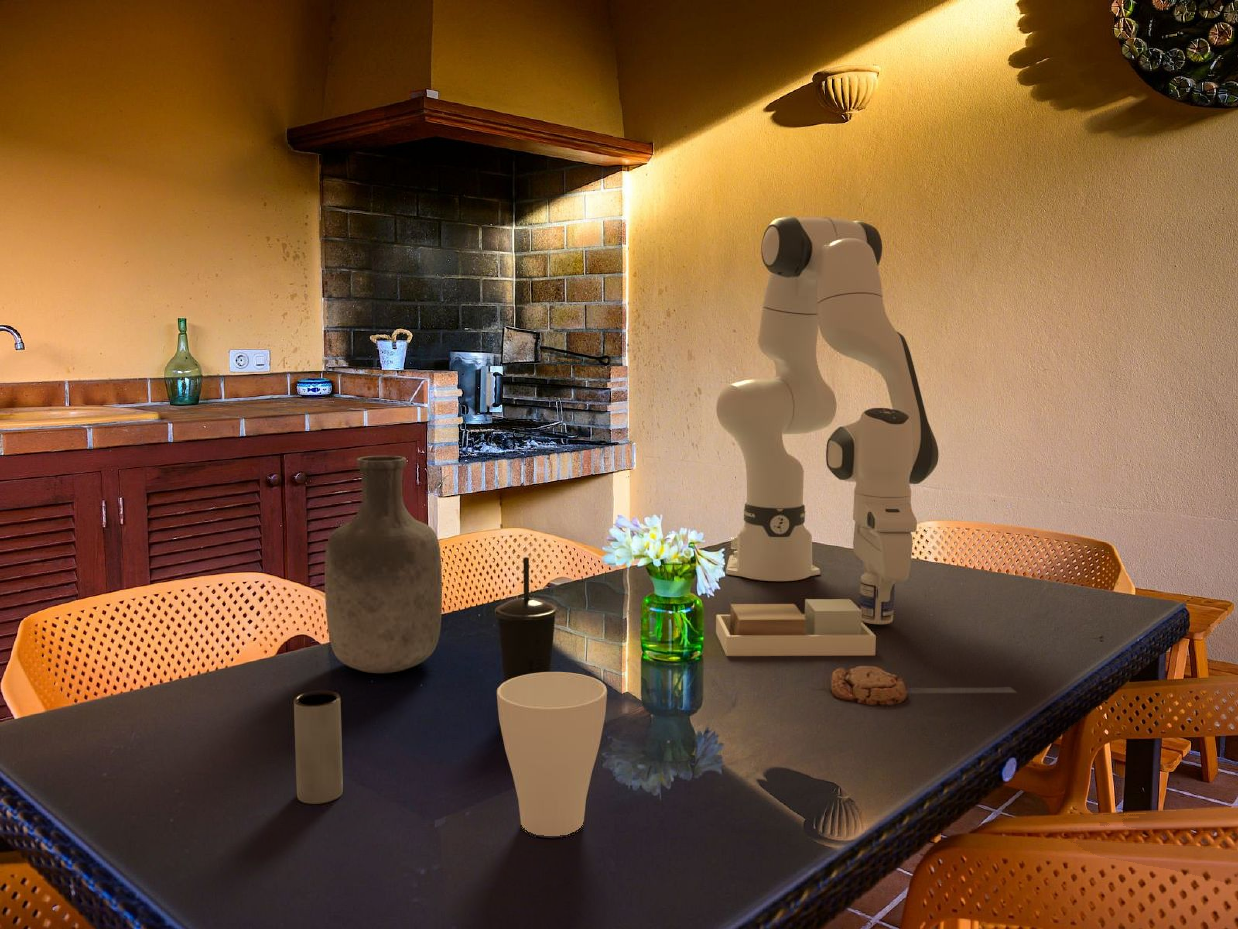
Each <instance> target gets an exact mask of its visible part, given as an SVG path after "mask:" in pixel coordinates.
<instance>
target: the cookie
mask: <svg viewBox="0 0 1238 929" xmlns="http://www.w3.org/2000/svg"><path fill="white" fill-rule="evenodd" d="M830 686H831V687H830V691H831V693H832V695H833V696H835V697H836V698H839V699H841V700H847V701H853V702H854V701H855V702H857V703H858V704H866V705H870V706H871V705H872V706H873V705H874V706H875V705H883V706H884V705H885V706H887V705H888V706H892V705H895V704H901V703H903V701H905V700H906V699H907V692H908V691H907V688H906V686H905V683H904V681H903V678H901V677H898V676H897V675H896V674H891V673H890V672H887V671H886V670H885V671H884V670H883V668H880V667H878V666H871V665H870V666H868V665H860V666H859V665H858V666H856V667H853V668H850V669H849V670H846V669H845V668H844V667H839V668H836V669H835V670H834V671H832V673H831V680H830Z"/></svg>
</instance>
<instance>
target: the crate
mask: <svg viewBox="0 0 1238 929" xmlns="http://www.w3.org/2000/svg"><path fill="white" fill-rule="evenodd" d="M802 614H803V616H804V617H805V613H802ZM715 621H716V622H715V634H716V636H717V639H718V641H719V643H720V644H721V647H722V649H723V651H724V654H725V656H726V657H771V656H772V657H774V656H775V657H791V656H792V657H802V656H804V657H807V656H808V657H810V656H811V657H813V656H814V657H815V656H816V657H817V656H819V657H820V656H821V657H822V656H829V657H831V656H833V657H836V656H838V657H839V656H841V657H842V656H846V657H847V656H854V657H855V656H876V646H877V645H876V642H877V641H876V640H877V639H876V638H877V636H876V634H874V632H873V631H871V629H870V628H868V626H867V625H865V622H863V621H862V622H861V635H730V614H716V616H715Z"/></svg>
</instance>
